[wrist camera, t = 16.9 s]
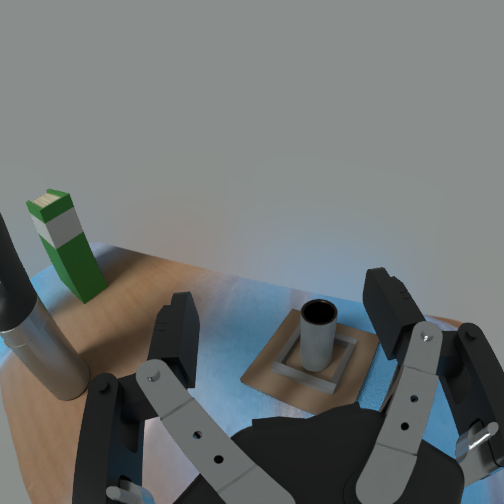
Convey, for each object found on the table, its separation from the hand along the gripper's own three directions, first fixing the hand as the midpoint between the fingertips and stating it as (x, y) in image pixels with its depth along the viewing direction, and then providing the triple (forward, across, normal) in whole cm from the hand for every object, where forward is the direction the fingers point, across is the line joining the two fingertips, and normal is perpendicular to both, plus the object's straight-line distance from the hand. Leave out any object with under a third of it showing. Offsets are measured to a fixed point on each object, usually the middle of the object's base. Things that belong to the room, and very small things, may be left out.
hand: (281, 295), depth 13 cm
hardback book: (+42, +46, +29) cm, 68 cm away
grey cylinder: (+14, -6, +27) cm, 31 cm away
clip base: (+14, -6, +28) cm, 32 cm away
